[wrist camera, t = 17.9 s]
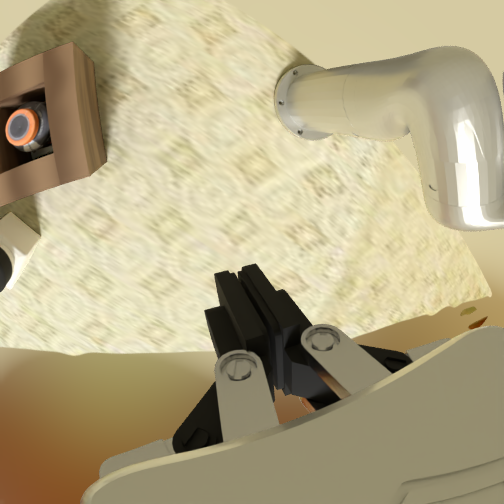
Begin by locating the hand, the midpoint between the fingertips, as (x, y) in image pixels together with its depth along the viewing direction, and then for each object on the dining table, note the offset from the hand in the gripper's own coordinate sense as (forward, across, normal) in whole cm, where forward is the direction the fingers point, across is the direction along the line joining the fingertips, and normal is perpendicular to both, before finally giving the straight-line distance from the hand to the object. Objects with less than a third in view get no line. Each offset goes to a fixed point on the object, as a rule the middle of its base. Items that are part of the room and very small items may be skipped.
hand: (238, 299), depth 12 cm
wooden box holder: (+33, +17, -11) cm, 39 cm away
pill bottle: (+32, +17, -11) cm, 38 cm away
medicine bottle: (+33, +28, +4) cm, 44 cm away
